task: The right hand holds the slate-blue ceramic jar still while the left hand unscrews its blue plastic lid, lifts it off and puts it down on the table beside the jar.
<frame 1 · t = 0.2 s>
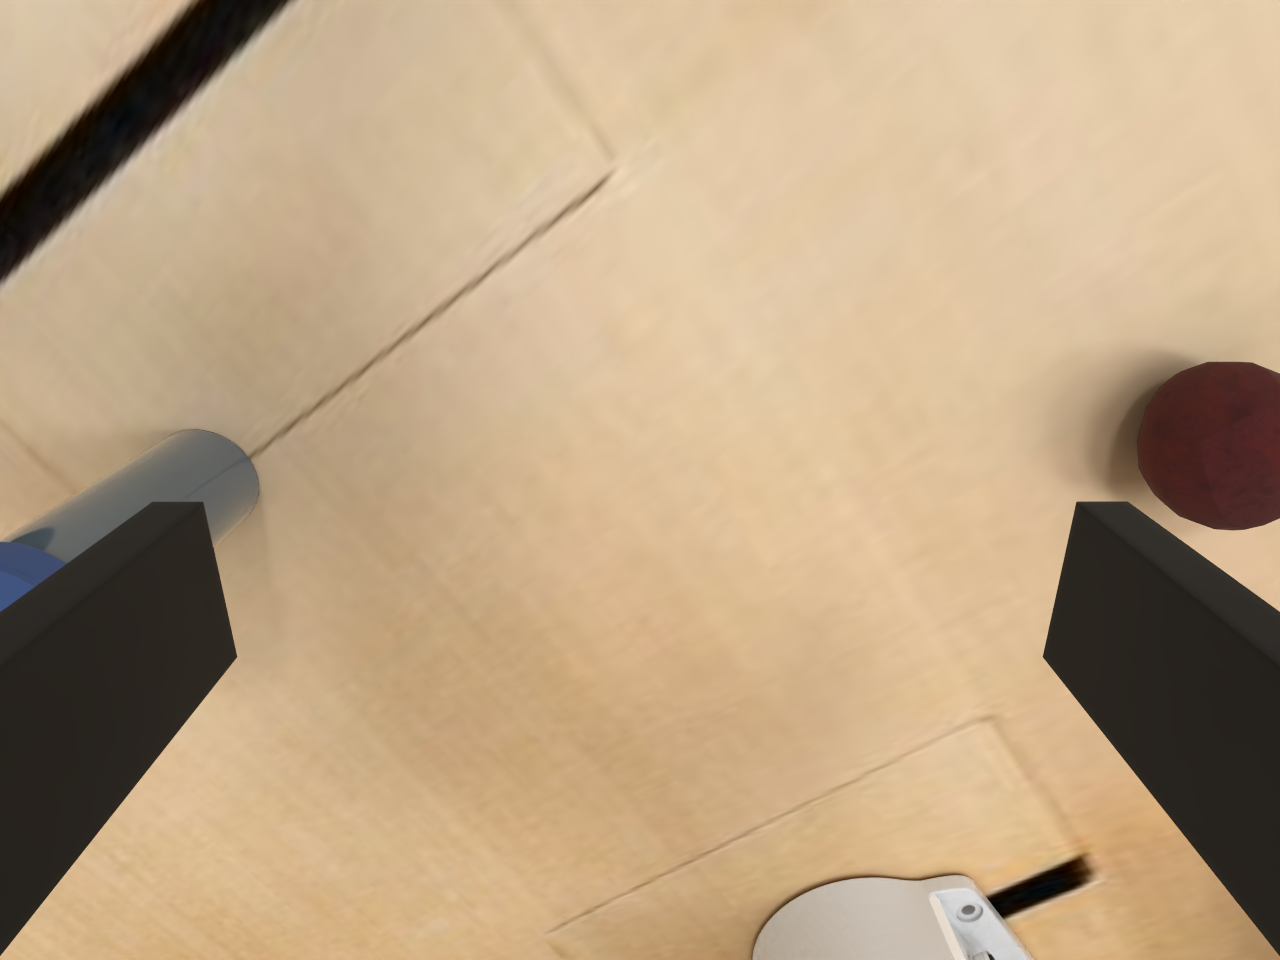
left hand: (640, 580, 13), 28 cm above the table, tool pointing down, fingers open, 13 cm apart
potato: (1179, 418, 41), on the table
jar: (205, 479, 42), on the table
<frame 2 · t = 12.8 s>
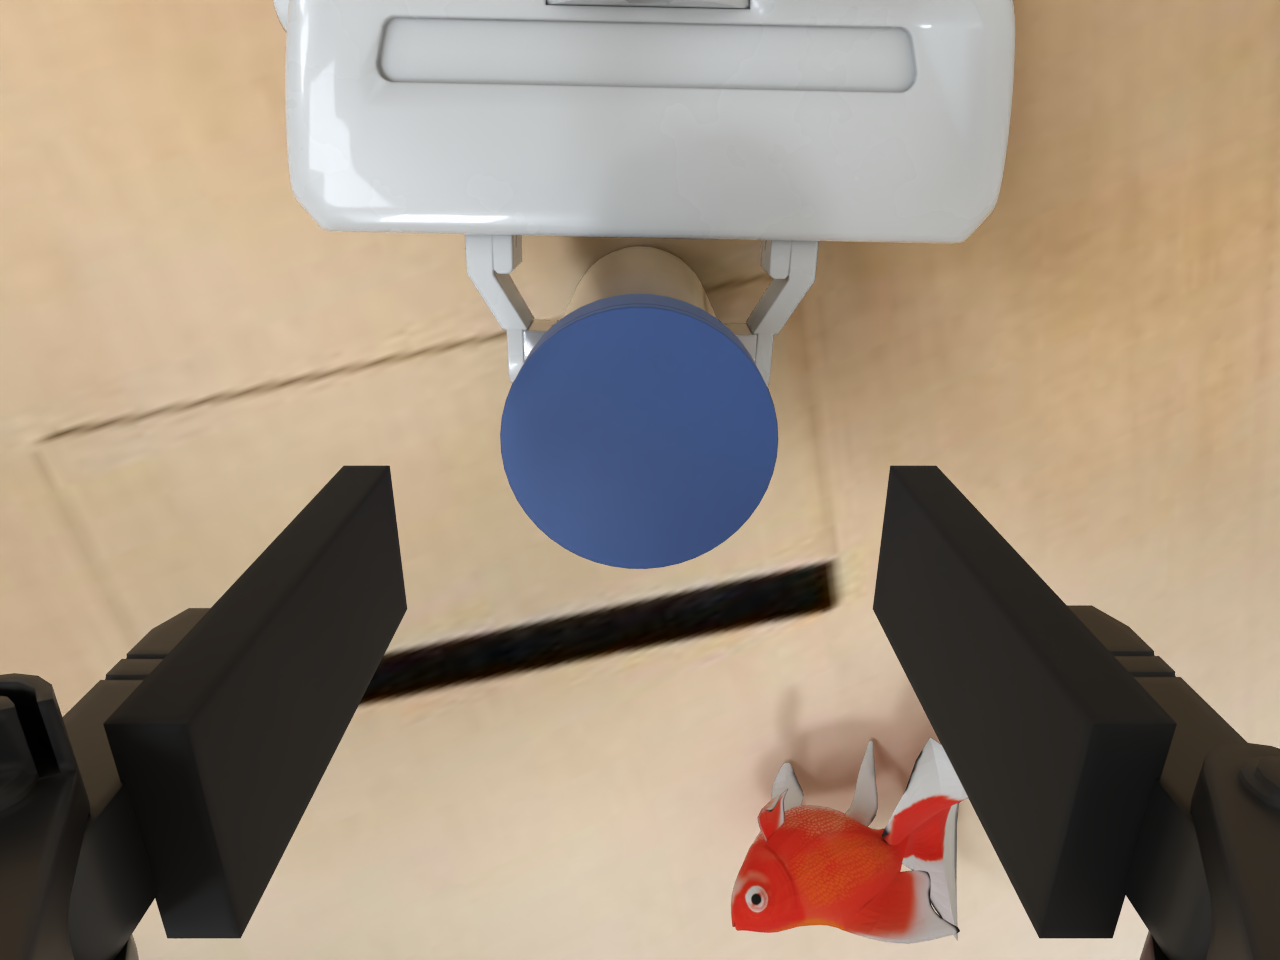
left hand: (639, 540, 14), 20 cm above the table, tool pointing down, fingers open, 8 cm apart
right hand: (640, 381, 27), fingers closed on jar, 5 cm apart
jar: (639, 317, 32), on the table, touching right hand
fish: (866, 762, 41), on the table
lid: (639, 441, 19), point 15 cm above the table, screwed on, not yet turned
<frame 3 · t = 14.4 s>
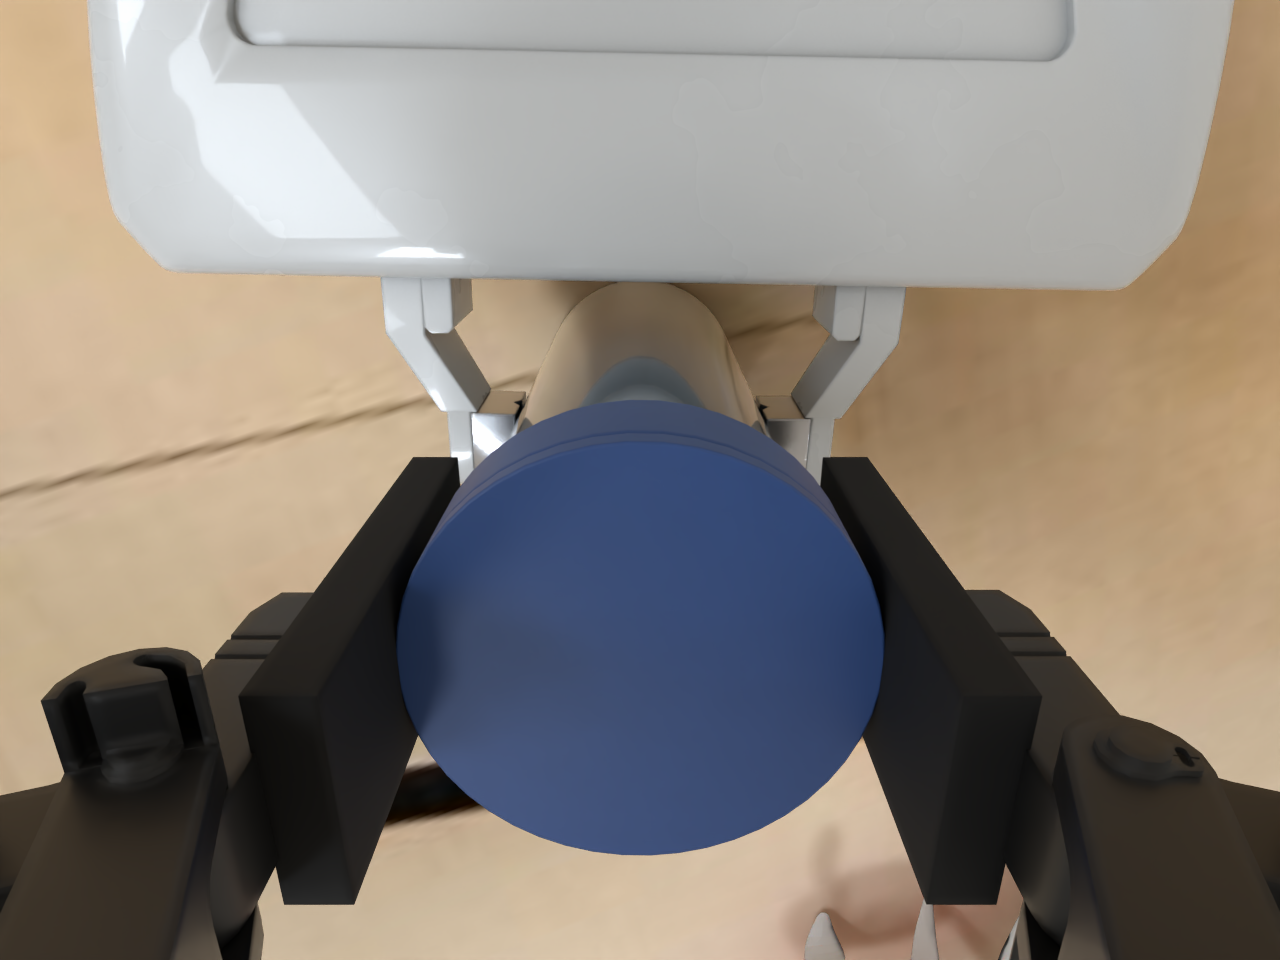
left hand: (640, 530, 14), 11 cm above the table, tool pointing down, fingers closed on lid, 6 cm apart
right hand: (641, 478, 19), fingers closed on jar, 5 cm apart
jar: (640, 371, 24), on the table, touching right hand
fish: (921, 911, 33), on the table
lid: (640, 656, 11), point 15 cm above the table, screwed on, not yet turned, touching left hand
when the left hand's fingers open (0 cm above the table, at t = 29.2 s): lid drops 3 cm, point 1 cm above the table.
when the right hand's fingers open (6 cm above the table, at t = 30.0 s): jar stays where it is, on the table.
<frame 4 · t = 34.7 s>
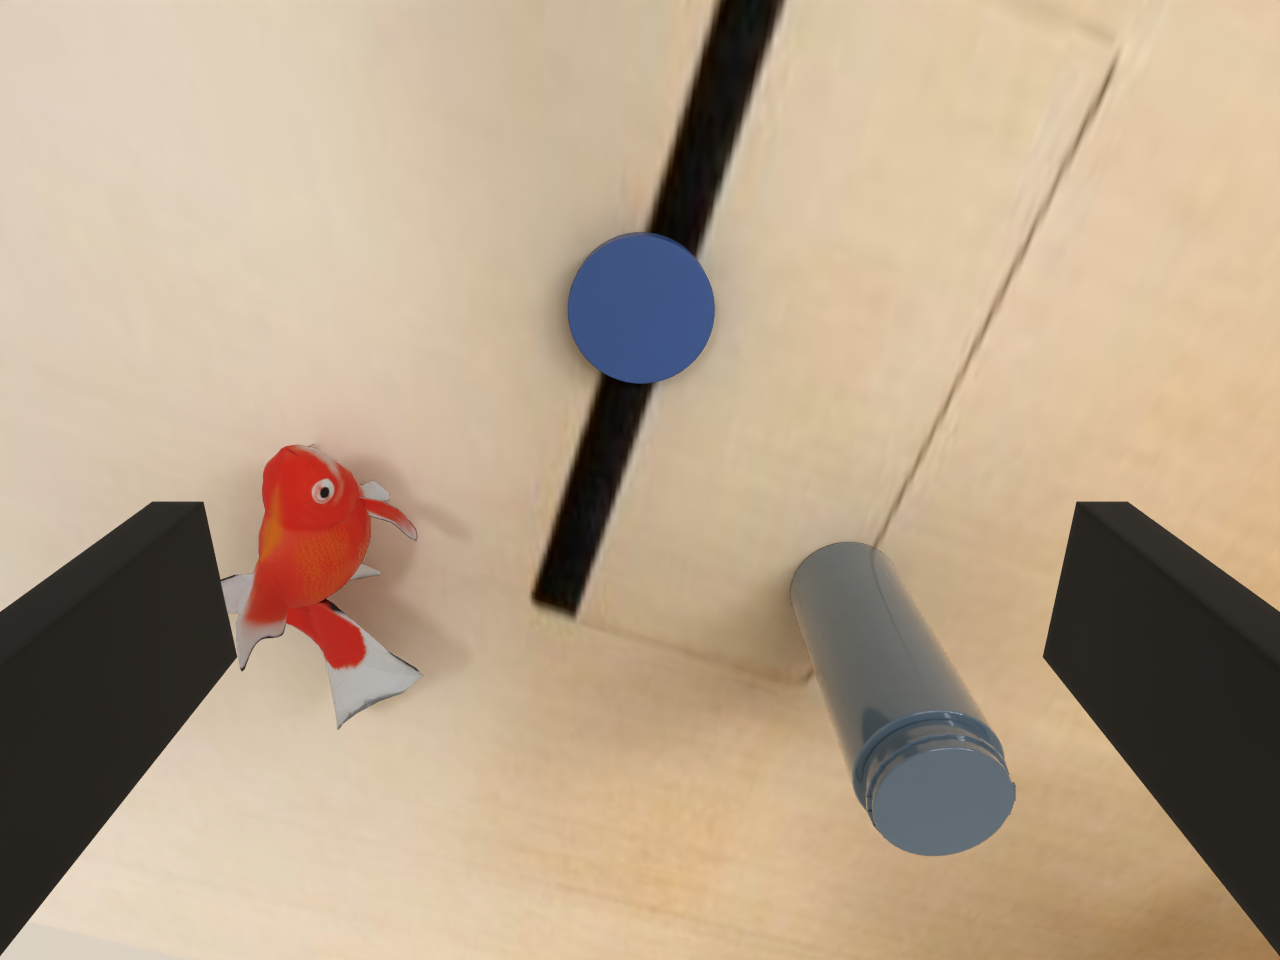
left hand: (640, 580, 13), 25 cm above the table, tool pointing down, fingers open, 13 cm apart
jar: (843, 589, 42), on the table
fish: (353, 556, 41), on the table
lid: (641, 310, 35), point 1 cm above the table, off its thread
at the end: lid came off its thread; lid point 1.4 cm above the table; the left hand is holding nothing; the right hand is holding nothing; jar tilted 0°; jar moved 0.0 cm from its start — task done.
